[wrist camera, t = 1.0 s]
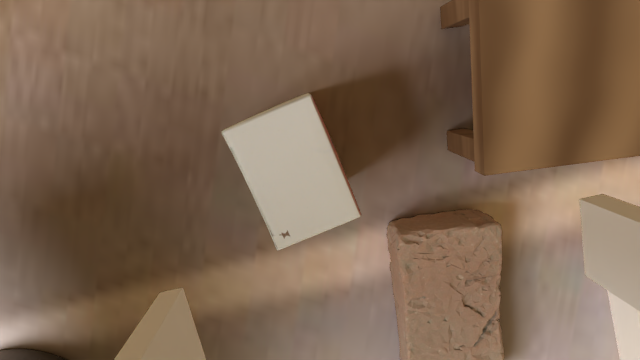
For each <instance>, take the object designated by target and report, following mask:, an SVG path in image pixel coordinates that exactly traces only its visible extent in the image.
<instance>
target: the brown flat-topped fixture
mask: <svg viewBox="0 0 640 360" xmlns="http://www.w3.org/2000/svg"><path fill="white" fill-rule="evenodd" d="M440 10H441V29H445V28H453V27H461V26H464V25H467V24H469V23H470V50H471V77H472V104H473V130H470V129H458V130H450V131H447V146H448V150H449V151H451V152H453V153H456V154H458V155H460V156H463V157H465V158H467V159H469V160H472V161H474V162H475V171H476V172H478V173H480V174H482V175H484V176H485V175H493V174H501V173H508V172H516V171H524V170H532V169H540V168H547V167H555V166H563V165H571V164H579V163H587V162H594V161H602V160H610V159H618V158H626V157H634V156H640V0H452V1H450V2H448V3H447V4H445V5H443V6H441V7H440Z"/></svg>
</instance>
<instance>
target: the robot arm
mask: <svg viewBox="0 0 640 360" xmlns="http://www.w3.org/2000/svg"><path fill="white" fill-rule="evenodd" d="M579 200H580V213H581V227H582V241H583V254H584V268H585V276H586V277H588V278H589V279H591V280H592V281H594V282H595V283H597V284H598V285H600V286H602V287H603V288H605V289H606V290H608V291H609V292H611V293H612V294H614V295H615V296H617V297H618V298H620V299H621V300H623V301H624V302H626V303H628V304H629V305H631V306H632V307H634V308H635V309H637V310H638V311H640V207H639V206H636V205H633V204H630V203H627V202H624V201H621V200H619V199H616V198H613V197H610V196H607V195H604V194H600V195H596V196H591V197H587V198H582V199H579ZM0 360H65V359H63V358H61V357H58V356H55V355H53V354H49V353H46V352H42V351H37V350H29V349H8V350H1V351H0ZM114 360H206V358H205V355H204V351H203V348H202V345H201V342H200V339H199V336H198V333H197V330H196V326H195V323H194V320H193V317H192V314H191V311H190V308H189V305H188V301H187V298H186V295H185V292H184V289H183V287H182V288H178V289H173V290H169V291H164V292H160V293H159V294H158V296H157V297H156V299H155V300H154V302H153V303H152V305H151V306H150V308H149V309H148V311H147V312H146V313H145V315H144V316H143V318H142V319H141V321H140V322H139V324H138V325H137V327H136V328H135V330H134V331H133V333H132V334H131V335H130V337H129V338H128V340H127V341H126V343H125V344H124V346H123V347H122V349H121V350H120V352H119V353H118V354H117V356H116V357H115V359H114Z"/></svg>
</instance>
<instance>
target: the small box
mask: <svg viewBox="0 0 640 360" xmlns="http://www.w3.org/2000/svg"><path fill="white" fill-rule="evenodd" d="M222 135H223V137H224V139H225V140H226V142H227V144H228V146H229V148H230V150H231V152H232V154H233V156H234V158H235V160H236V162H237V164H238V166H239V168H240V170H241V172H242V174H243V176H244V179H245V181H246V183H247V185H248V187H249V189H250V191H251V193H252V195H253V197H254V200H255V202H256V204H257V206H258V208H259V210H260V212H261V215H262V217H263V219H264V221H265V223H266V226H267V228H268V230H269V233H270V235H271V238H272V240H273V242H274V245H275V247H276V250H278V251H279V250H281V249H284V248H286V247H289V246H291V245H293V244H296V243H298V242H301V241H303V240H305V239H308V238H310V237H313V236H315V235H318V234H320V233H322V232H325V231H327V230H330V229H332V228H335V227H337V226H340V225H342V224H345V223H347V222H349V221H352V220H354V219H356V218H359V217H361V213H360V210H359V208H358V205H357V202H356V200H355V197H354V195H353V192H352V190H351V187H350V185H349V182H348V180H347V177H346V175H345V172H344V169H343V167H342V164H341V162H340V159H339V157H338V154H337V152H336V149H335V147H334V145H333V142H332V140H331V137H330V135H329V133H328V131H327V128H326V126H325V124H324V121H323V119H322V117H321V115H320V113H319V110H318V108H317V106H316V104H315V101H314V99H313V97H312V95H311V94H309V93H307V94H304V95H301V96H298V97H296V98H293V99H291V100H288V101H286V102H284V103H281V104H279V105H277V106H274V107H272V108H270V109H268V110H265V111H263V112H261V113H259V114H256V115H254V116H252V117H250V118H248V119H246V120H243V121H241V122H239V123H237V124H235V125H233V126H231V127H228V128H226V129H224V130H223V131H222Z"/></svg>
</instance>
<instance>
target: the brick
mask: <svg viewBox="0 0 640 360" xmlns="http://www.w3.org/2000/svg"><path fill="white" fill-rule="evenodd" d="M387 231H388V232H387V239H388V250H389V253H390V259H391V262H390V271H391V275H392V285H393V295H394V299H395V308H396V315H397V324H398V334H399V342H400V360H504V348H503V342H502V338H501V334H502V329H501V325H500V323H499V321H498V319H499V318H500V310H499V305H500V299H501V295H500V292H501V291H500V287H499V284H500V281H501V275H500V272H501V267H502V241H501V237H502V229H501V225H500V224H499V223H498V222H496V221H494V220H493V218H492V217H491V216H489V215H488V214H484V213H483V212H481V211H479V210H471V209H467V210H457V211H447V212H441V213H436V214H431V215H416V216H415V217H412V218H401V219H399V220H395V221H392V222H389V225H388V227H387Z"/></svg>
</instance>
